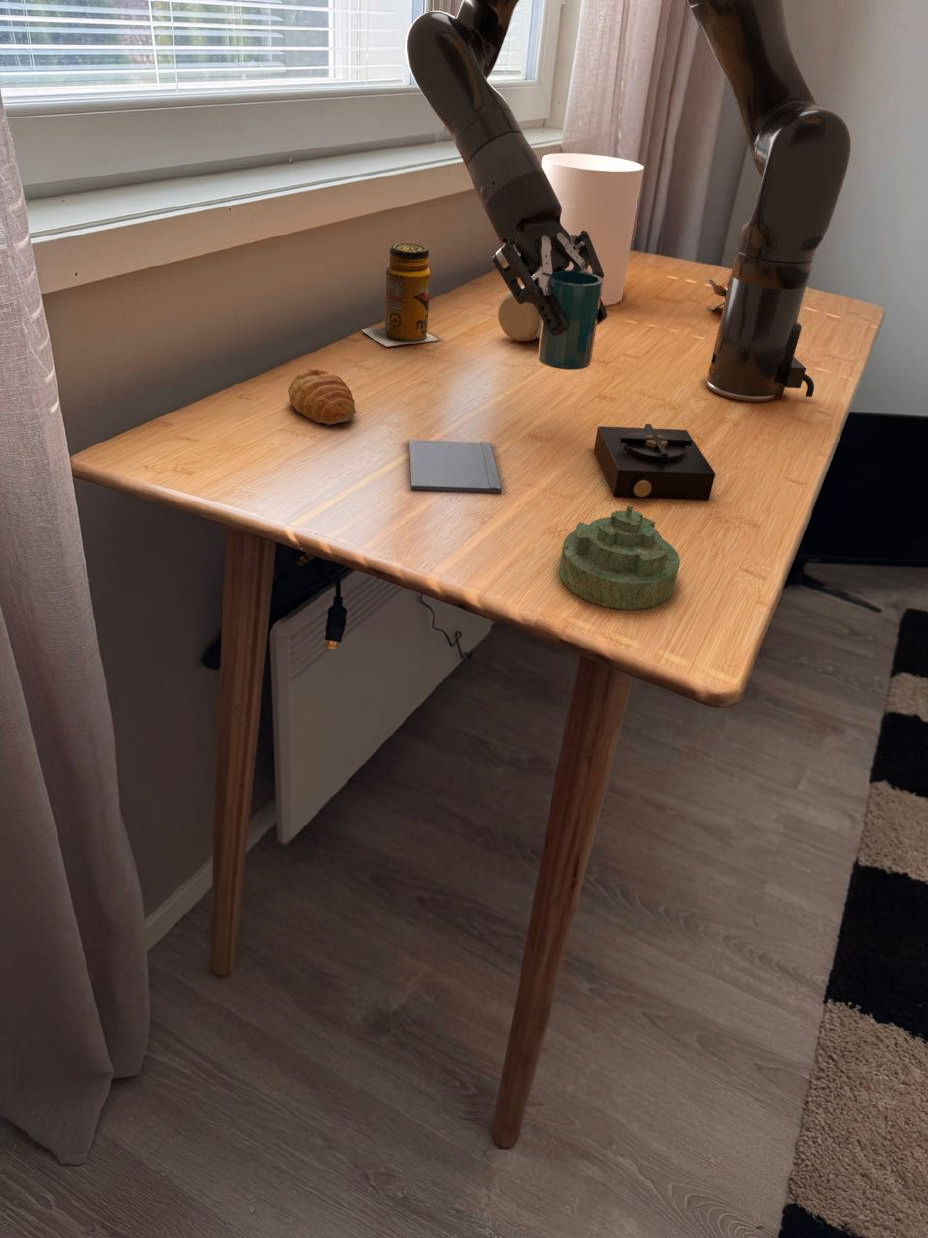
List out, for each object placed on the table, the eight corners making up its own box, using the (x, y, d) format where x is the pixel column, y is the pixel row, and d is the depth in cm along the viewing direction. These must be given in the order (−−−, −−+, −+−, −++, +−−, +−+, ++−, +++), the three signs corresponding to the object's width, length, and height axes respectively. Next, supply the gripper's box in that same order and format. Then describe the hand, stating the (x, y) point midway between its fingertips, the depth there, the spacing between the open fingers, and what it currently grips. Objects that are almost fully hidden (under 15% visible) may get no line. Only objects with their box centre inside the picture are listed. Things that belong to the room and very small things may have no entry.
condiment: (439, 340, 130) (444, 251, 123) (386, 347, 126) (388, 256, 119) (412, 325, 135) (416, 238, 128) (361, 331, 131) (362, 242, 124)
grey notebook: (490, 447, 102) (491, 442, 101) (500, 493, 93) (501, 487, 92) (408, 443, 101) (408, 438, 100) (411, 490, 92) (411, 484, 91)
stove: (680, 454, 104) (688, 419, 101) (711, 504, 94) (721, 467, 92) (593, 451, 103) (599, 415, 100) (615, 501, 93) (622, 463, 91)
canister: (628, 309, 150) (651, 174, 139) (530, 301, 150) (545, 166, 138) (616, 283, 163) (636, 158, 152) (526, 275, 163) (539, 149, 151)
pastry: (370, 423, 105) (370, 390, 102) (315, 432, 101) (314, 399, 99) (335, 394, 111) (334, 363, 109) (282, 402, 108) (280, 370, 106)
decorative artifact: (563, 541, 85) (554, 599, 77) (574, 472, 81) (565, 525, 73) (672, 558, 84) (674, 618, 76) (689, 488, 80) (693, 544, 72)
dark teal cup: (585, 352, 108) (597, 271, 103) (594, 370, 103) (607, 286, 98) (534, 350, 108) (544, 268, 102) (541, 368, 103) (551, 283, 97)
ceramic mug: (491, 336, 133) (497, 281, 129) (521, 324, 139) (528, 271, 135) (554, 356, 129) (563, 300, 124) (583, 342, 135) (591, 289, 130)
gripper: (487, 172, 95) (559, 319, 95) (577, 164, 103) (644, 298, 103) (448, 217, 101) (516, 355, 101) (537, 205, 109) (599, 333, 109)
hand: (580, 326), depth 102 cm, fingers closed on dark teal cup, 6 cm apart
